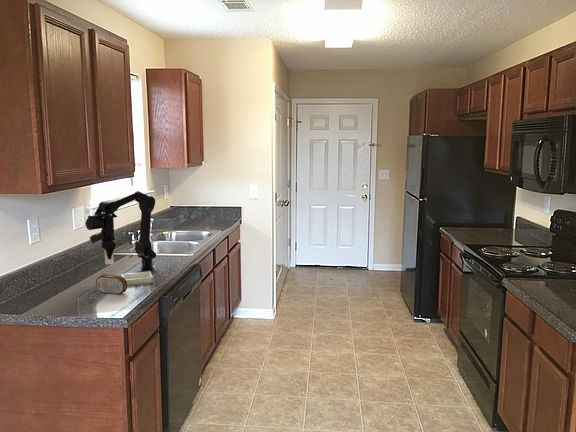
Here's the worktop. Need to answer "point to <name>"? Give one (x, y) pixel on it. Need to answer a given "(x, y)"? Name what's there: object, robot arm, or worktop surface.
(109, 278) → the tin
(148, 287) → the worktop surface
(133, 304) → the worktop surface
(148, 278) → the tray
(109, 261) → the cream block
